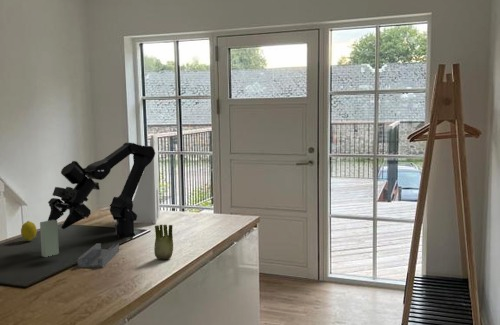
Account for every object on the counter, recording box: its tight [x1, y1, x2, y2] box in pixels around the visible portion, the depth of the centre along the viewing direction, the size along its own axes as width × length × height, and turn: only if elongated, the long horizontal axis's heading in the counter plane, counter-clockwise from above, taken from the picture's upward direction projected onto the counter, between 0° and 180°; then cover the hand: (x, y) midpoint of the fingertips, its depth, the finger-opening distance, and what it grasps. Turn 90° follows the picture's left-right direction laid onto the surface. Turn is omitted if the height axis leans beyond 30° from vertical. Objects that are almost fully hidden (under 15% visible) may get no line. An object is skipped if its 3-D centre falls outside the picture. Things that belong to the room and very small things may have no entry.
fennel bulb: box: [153, 224, 174, 260], centre depth 157 cm, size 6×5×12 cm
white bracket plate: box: [132, 133, 160, 226], centre depth 216 cm, size 20×14×40 cm
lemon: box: [20, 220, 37, 242], centre depth 181 cm, size 6×6×8 cm
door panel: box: [39, 219, 60, 258], centre depth 163 cm, size 5×2×12 cm, turn 144°
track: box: [77, 242, 120, 269], centre depth 158 cm, size 18×8×3 cm, turn 179°
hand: (54, 226), depth 164 cm, fingers open, 9 cm apart
